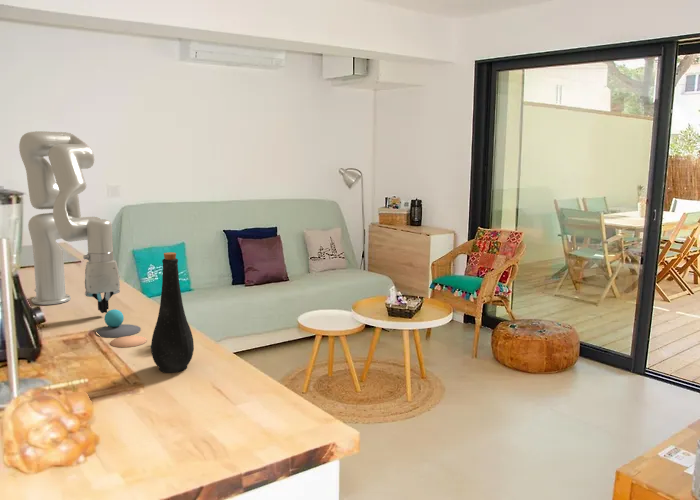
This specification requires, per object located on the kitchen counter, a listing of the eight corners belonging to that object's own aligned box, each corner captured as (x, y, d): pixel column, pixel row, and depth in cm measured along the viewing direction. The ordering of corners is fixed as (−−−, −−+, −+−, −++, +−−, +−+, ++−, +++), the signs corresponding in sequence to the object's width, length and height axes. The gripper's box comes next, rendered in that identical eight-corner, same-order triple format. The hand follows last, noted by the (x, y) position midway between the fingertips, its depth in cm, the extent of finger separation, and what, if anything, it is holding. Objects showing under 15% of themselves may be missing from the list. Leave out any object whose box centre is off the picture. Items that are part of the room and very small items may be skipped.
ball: (102, 329, 189) (99, 311, 190) (118, 327, 194) (116, 310, 194) (112, 326, 186) (109, 308, 187) (128, 324, 190) (125, 307, 191)
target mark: (86, 331, 185) (86, 331, 185) (124, 322, 196) (124, 321, 195) (111, 340, 178) (111, 339, 178) (149, 330, 188) (149, 329, 188)
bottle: (182, 377, 151) (179, 258, 146) (143, 373, 153) (139, 255, 148) (201, 362, 161) (199, 251, 156) (164, 359, 163) (161, 248, 158)
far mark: (103, 342, 176) (103, 341, 176) (133, 334, 184) (133, 333, 184) (123, 349, 170) (123, 349, 170) (153, 341, 178) (153, 340, 178)
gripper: (78, 261, 191) (81, 317, 195) (127, 257, 200) (129, 311, 203) (73, 257, 198) (76, 312, 201) (121, 253, 206) (123, 306, 209)
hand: (103, 311), depth 202 cm, fingers closed
